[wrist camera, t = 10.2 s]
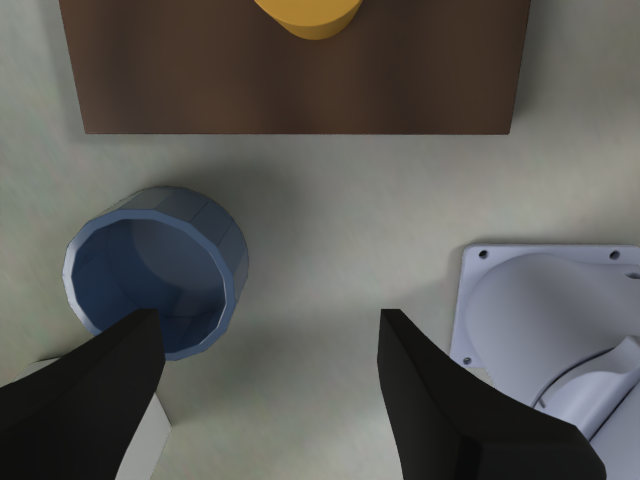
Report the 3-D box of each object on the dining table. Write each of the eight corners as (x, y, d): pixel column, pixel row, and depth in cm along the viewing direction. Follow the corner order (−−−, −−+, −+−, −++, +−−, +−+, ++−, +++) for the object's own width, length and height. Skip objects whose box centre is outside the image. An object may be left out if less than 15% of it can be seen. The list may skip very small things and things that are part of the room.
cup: (243, 186, 23) (227, 209, 19) (253, 319, 26) (240, 361, 22) (90, 185, 23) (44, 208, 19) (117, 318, 26) (82, 360, 22)
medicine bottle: (29, 361, 27) (-176, 564, 16) (134, 341, 27) (-6, 539, 16) (77, 444, 30) (-71, 667, 19) (174, 427, 29) (79, 650, 18)
